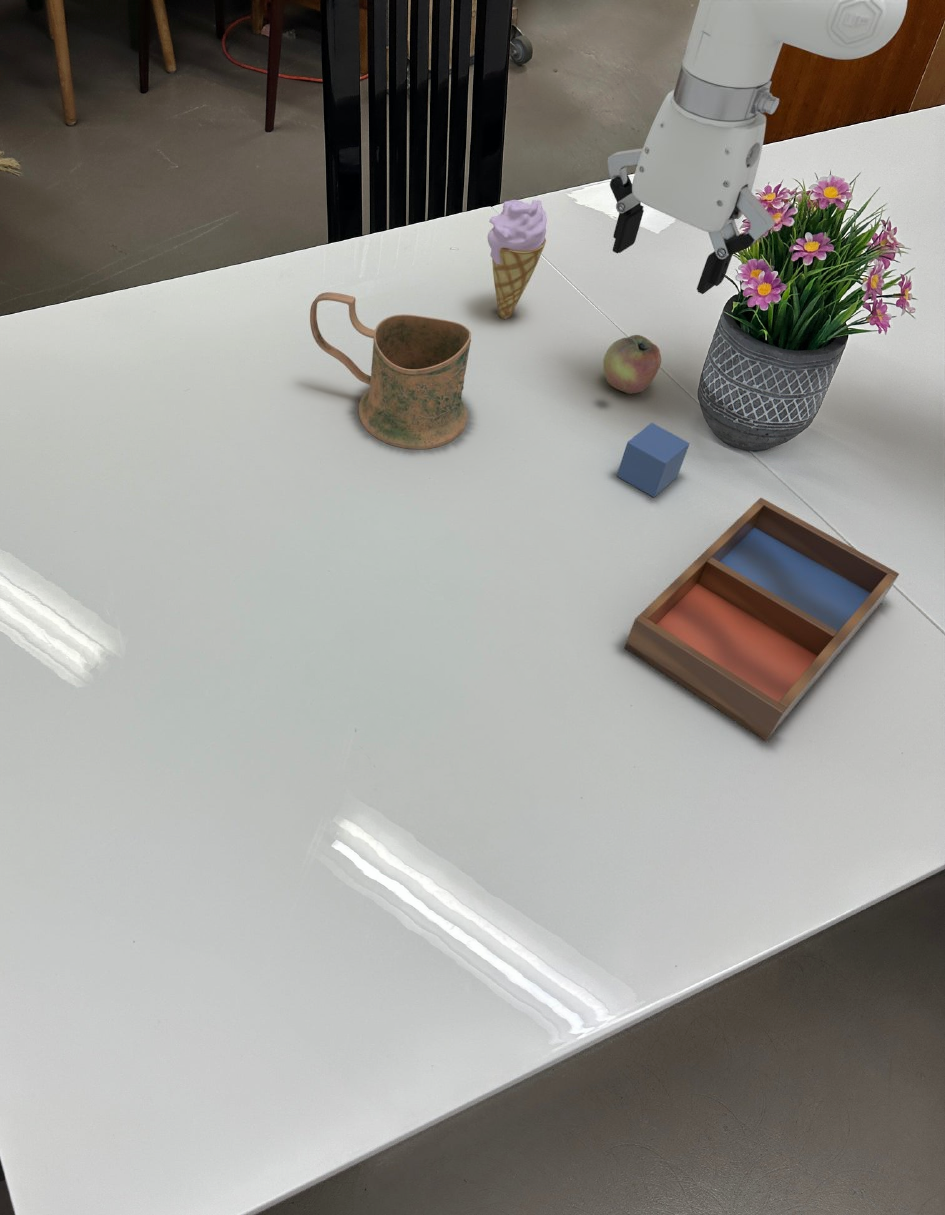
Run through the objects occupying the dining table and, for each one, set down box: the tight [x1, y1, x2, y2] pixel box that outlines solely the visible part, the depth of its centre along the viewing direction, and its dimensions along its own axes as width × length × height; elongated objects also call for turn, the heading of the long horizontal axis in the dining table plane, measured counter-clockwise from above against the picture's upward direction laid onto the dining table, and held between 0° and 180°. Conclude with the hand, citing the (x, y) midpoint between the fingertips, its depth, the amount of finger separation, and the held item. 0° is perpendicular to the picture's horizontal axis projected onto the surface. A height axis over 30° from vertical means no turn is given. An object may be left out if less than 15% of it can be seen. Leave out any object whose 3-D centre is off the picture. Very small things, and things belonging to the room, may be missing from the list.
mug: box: [309, 291, 472, 450], centre depth 112 cm, size 12×18×12 cm, turn 70°
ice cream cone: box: [487, 199, 548, 320], centre depth 123 cm, size 7×6×15 cm
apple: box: [602, 334, 662, 395], centre depth 118 cm, size 6×8×6 cm
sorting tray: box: [623, 497, 900, 742], centre depth 96 cm, size 22×14×4 cm, turn 137°
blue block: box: [616, 422, 691, 498], centre depth 109 cm, size 4×4×4 cm
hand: (664, 267), depth 107 cm, fingers open, 9 cm apart
